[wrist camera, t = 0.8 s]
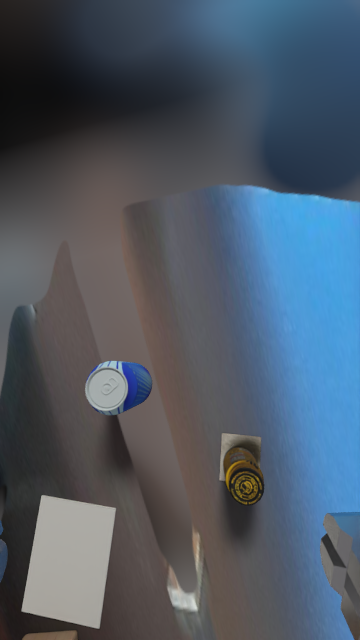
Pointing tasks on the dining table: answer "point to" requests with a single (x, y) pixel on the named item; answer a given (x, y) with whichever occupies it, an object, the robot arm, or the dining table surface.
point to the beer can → (117, 386)
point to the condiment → (242, 467)
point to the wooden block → (53, 636)
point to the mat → (69, 561)
